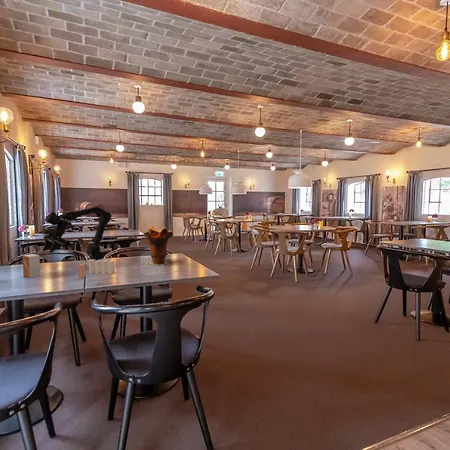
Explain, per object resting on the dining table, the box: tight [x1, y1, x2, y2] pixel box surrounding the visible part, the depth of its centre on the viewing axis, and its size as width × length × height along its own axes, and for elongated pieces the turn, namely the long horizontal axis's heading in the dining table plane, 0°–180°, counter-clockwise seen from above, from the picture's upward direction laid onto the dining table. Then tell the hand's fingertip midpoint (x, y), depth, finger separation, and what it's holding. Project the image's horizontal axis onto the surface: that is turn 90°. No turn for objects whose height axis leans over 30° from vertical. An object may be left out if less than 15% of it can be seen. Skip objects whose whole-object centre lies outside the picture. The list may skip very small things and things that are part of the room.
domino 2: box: [88, 259, 95, 274], centre depth 203 cm, size 5×2×8 cm, turn 169°
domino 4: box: [101, 259, 109, 275], centre depth 201 cm, size 5×2×8 cm, turn 169°
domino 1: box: [77, 263, 87, 279], centre depth 190 cm, size 5×2×8 cm, turn 169°
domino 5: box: [107, 259, 116, 275], centre depth 201 cm, size 5×2×8 cm, turn 169°
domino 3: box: [94, 259, 103, 275], centre depth 202 cm, size 5×2×8 cm, turn 169°
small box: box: [21, 253, 41, 279], centre depth 193 cm, size 8×6×13 cm
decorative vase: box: [142, 226, 174, 267], centre depth 232 cm, size 21×23×28 cm
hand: (46, 251), depth 193 cm, fingers open, 9 cm apart
